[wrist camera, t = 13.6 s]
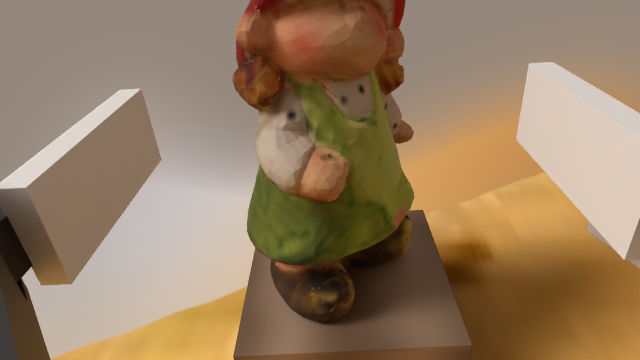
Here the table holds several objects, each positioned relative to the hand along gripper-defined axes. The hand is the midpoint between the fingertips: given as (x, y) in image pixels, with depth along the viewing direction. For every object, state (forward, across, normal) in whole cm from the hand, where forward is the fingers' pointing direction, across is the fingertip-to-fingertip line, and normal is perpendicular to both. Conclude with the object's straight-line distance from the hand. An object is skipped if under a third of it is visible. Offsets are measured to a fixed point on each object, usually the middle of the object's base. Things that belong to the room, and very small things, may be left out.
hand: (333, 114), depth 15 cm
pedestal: (+6, 0, -19) cm, 20 cm away
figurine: (+6, 0, -13) cm, 14 cm away
